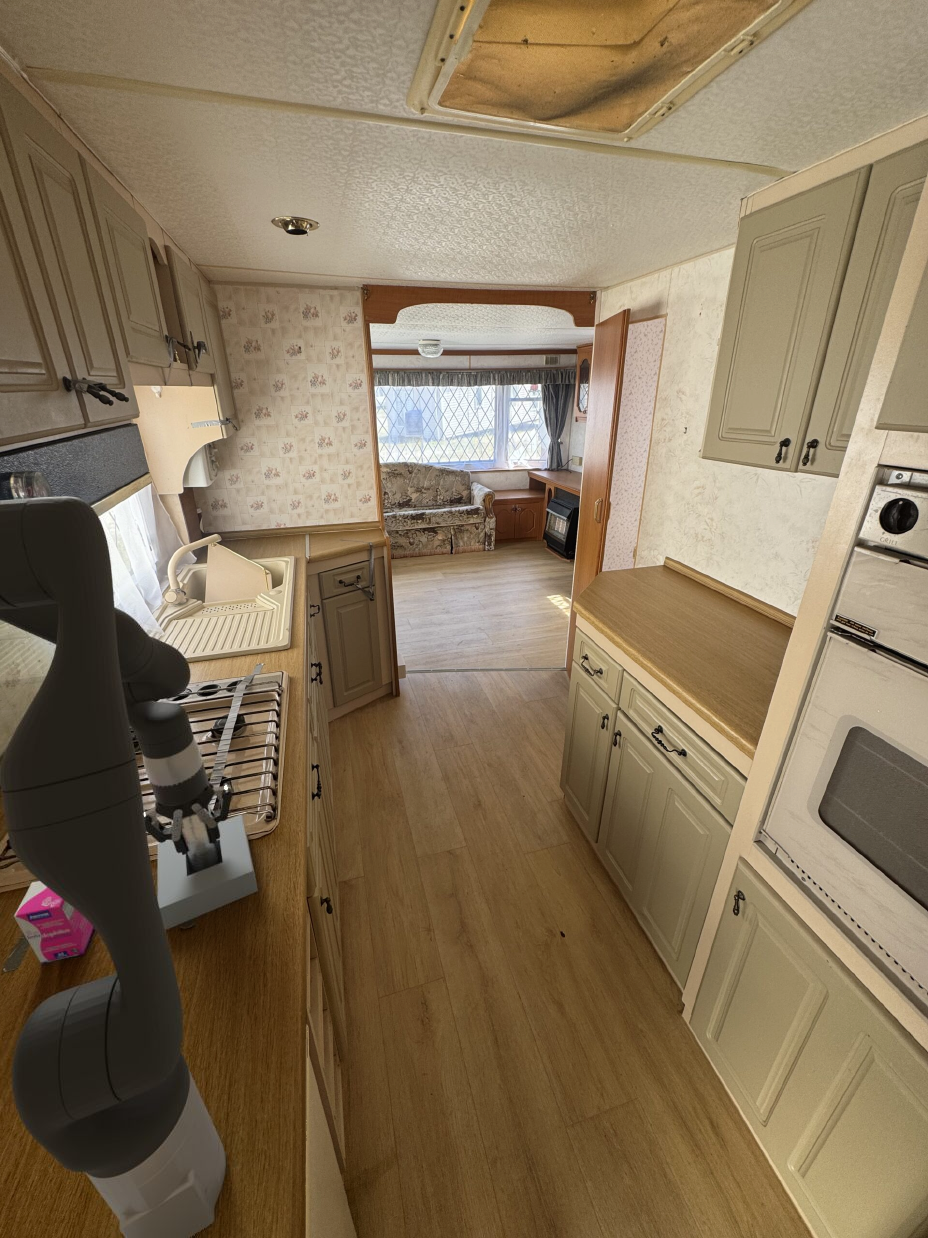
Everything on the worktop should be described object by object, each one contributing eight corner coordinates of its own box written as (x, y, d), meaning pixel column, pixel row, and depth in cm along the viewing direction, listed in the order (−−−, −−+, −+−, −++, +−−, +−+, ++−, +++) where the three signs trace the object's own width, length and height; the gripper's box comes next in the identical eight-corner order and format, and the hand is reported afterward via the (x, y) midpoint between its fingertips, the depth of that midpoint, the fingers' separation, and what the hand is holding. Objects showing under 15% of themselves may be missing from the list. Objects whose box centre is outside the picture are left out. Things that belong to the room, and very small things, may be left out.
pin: (218, 866, 87) (203, 814, 81) (193, 876, 85) (175, 824, 80) (216, 849, 90) (201, 798, 85) (191, 858, 88) (175, 807, 83)
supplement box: (40, 967, 75) (11, 916, 70) (57, 929, 80) (31, 880, 75) (84, 956, 76) (58, 906, 72) (99, 920, 82) (75, 871, 77)
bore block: (258, 891, 86) (252, 871, 84) (165, 930, 80) (157, 909, 78) (246, 833, 97) (241, 814, 95) (164, 863, 91) (157, 844, 89)
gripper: (120, 799, 72) (152, 880, 79) (227, 766, 78) (247, 844, 86) (123, 767, 78) (152, 846, 85) (222, 739, 84) (241, 814, 92)
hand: (200, 845), depth 85 cm, fingers closed on pin, 4 cm apart
